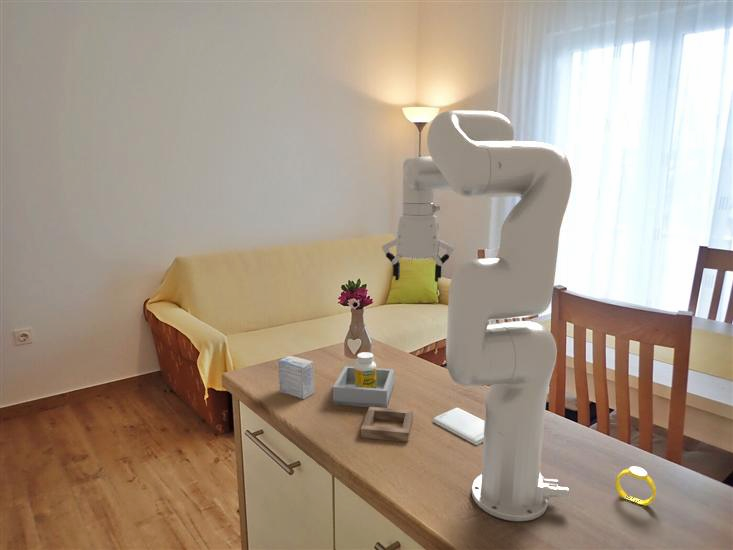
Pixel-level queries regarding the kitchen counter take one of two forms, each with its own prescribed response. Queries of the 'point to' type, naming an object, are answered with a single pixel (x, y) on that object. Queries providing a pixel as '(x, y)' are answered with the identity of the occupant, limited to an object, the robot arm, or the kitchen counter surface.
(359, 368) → the supplement bottle
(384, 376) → the slate tray
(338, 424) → the kitchen counter surface
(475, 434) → the hard drive
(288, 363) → the medicine box
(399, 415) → the walnut square tray
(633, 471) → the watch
